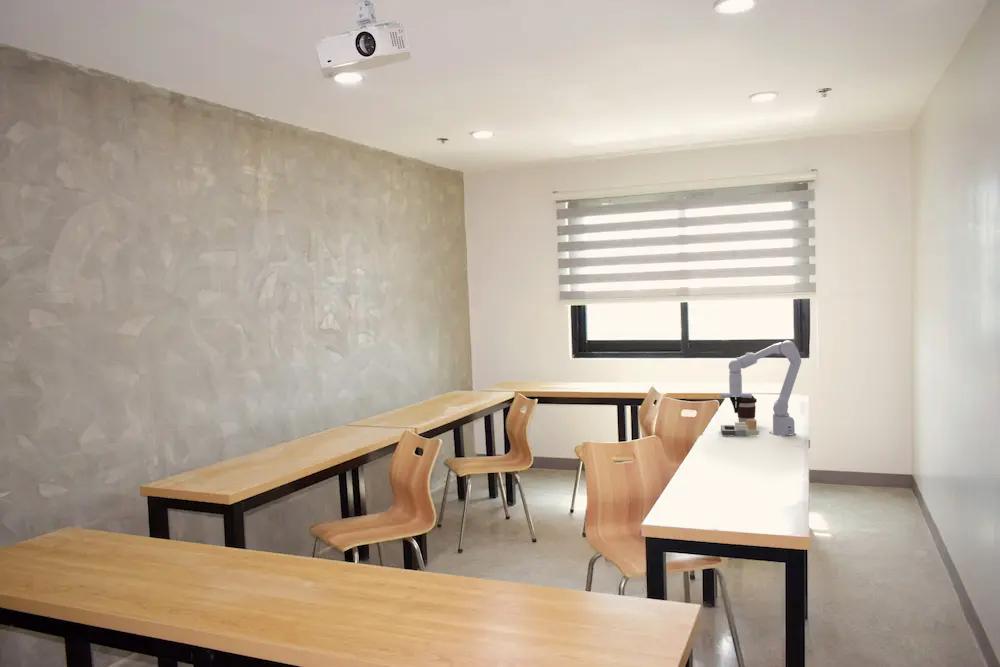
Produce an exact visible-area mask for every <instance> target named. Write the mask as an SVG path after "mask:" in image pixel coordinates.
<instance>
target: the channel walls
mask: <svg viewBox="0 0 1000 667" xmlns="http://www.w3.org/2000/svg"><path fill="white" fill-rule="evenodd" d="M734 425H735V427H736V430H747V425H746V422H739V421H735V422H734Z"/></svg>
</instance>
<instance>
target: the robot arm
mask: <svg viewBox="0 0 1000 667" xmlns="http://www.w3.org/2000/svg"><path fill="white" fill-rule="evenodd" d="M780 353H781V354H782V355H784V356H785V357H786V358H787V361H788V362H789V367H788V368H787V371H786V375H785V378H784V381H783V384H782V387H781V389H780V393H779V396H778V398H777V400H775V402H774V405H773V408H772V409H773V413H772V431H768V433H769V434H772V433H773V434H772V435H776V434H777V436H780V435H781V436H780V437H786V436H785V435H788V436H791V435H790V434H795V435H796V434H797V433H796V432H795V420H794V418H793V417H791V416H790V413H789V412H788V411H789V410H788V409H789V400H790V397H791V394H792V391H793V388H794V385H795V383H796V379H797V377H798V373H799V370H800V367H801V364H802V359H801V358H802V357H801V355H800V352H799V349H798V346H797V345H796V344H795V343H794V341H792V340H789V339H788V340H787V339H786V340H784V341H783V342H777V343H773V344H772V345H770V346H768V347H766V348H764V349H761V350H759V351H757V352H755V353H754V352H749V351H748V352H746V353H745V354H744V355H741V356H740V357H739V356H737V357H736V359H732V360H731V361H730V362H729V363H728V369H729V375H728V376H729V378H728V383H729V392H725V393H724V392H723V393H719V398H720V399H725V398H726V399H727V398H729V400H730V402H731V404H732V406H733V412H734V414H738V408H739V405H740V403H741V401H742V398H752V396H753V394H752V393H750V392H749V393H747V392H743V378H742V369H746V368H748V367H752V366H753V365H755V364H757V363H758V360H760V359H762V358H763V359H764V358H765V357H767V356H770V355H772V354H779V355H780Z"/></svg>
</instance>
